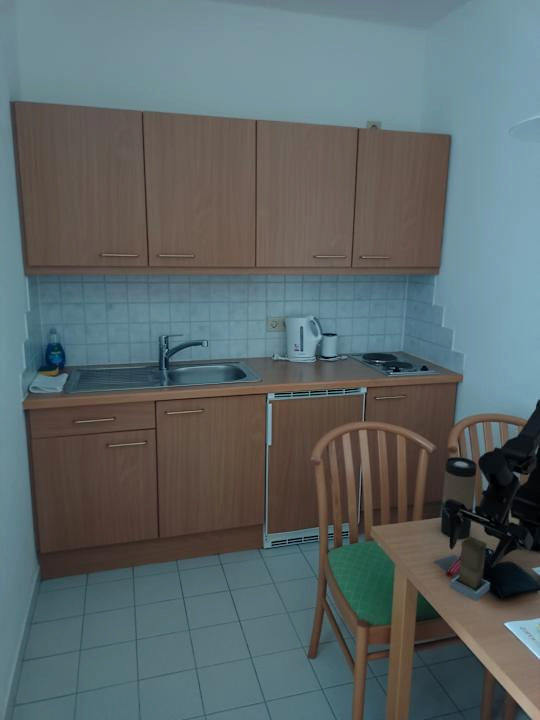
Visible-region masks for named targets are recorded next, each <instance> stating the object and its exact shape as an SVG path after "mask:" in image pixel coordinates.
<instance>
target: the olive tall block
mask: <svg viewBox="0 0 540 720" xmlns="http://www.w3.org/2000/svg"><path fill="white" fill-rule="evenodd" d="M486 549H487V542H485V541H483V540H480V539H477V538H475V537H473V536H470V535H469V538H466V539H463V541H461V553H460V559H461V561H460V572H459V583H461V584H463V585H465V586H467V587H469V588H471V589H473V590H474V591H475V592H476V591H477V590H478V589H480V588H481V587H482V580H483V578H484V570H485V560H486V559H485V558H486Z"/></svg>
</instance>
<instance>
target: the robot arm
mask: <svg viewBox="0 0 540 720" xmlns="http://www.w3.org/2000/svg"><path fill="white" fill-rule="evenodd" d="M477 465H478V467H479V469H480V471H481V473H482V475H483V476H484V478H485V479H486V481H487V483H488V485H487V487H486V490H485V489H484V490H482V493H481V495H482V498H481V500H480V503H479V505H475V506H474V508H473V511H474V512H470V511H468V510H467V508H466V507H465V505H464V504H463V503H460V502H457V501H455V500H452V499H449V500H447V501H445V503H444V505H443V507H442V506H441V509H442V508H443V509H444V510H445V512H446V514H447V515H448V517H449V518H450V537H449V549H450V550H454V548H455V547H456V544H457V542H458V540H459V539H458V537H459V535H460V532H461V530H462V529H463V528H464V527H465V525H464V523H463V522H466V521H467V519H468V520H470V521H471V522H473V523H475V524H477V525H480V526H483V531H484V533H485V534H486V535H487V536H489V537H493V538H496V539H498V540H499V541H498V544H497V545H496V548H495V550H494V553H493V555H492V557H491V560H490V564H489V567H490V569H491V568H492V569H493V568H494V567H495V566H496V565H498V564H499V563H500V562H501V561H502V560H503V559H504V558H505V557H506V556H507V555H509V554H511V552H515V551H517V550H519V551H523V550H524V549H525V550H527V551H530V550H533V551H537V552H540V398H539V399H538V400H537V402H536V405H535V409H534V411H533V412H532V413H531V415H530V417H529V418H528V419H527V421H526V422H525V424H524V425H523V427H522V429H521V430H520V432H519V433H518V434H517V436H515V437H512V438H509V439H508V440H506V442H505V443H504V444H503V445H502V446H501V447H500V448H499V447H496V446H495V447H494V449H493V450H491V451H487V452H485V453H483V454H482V455H481V456H480V457H479V459H478V464H477ZM516 474H520V475H523V476H528V478H527V480H526V481H525V482H524V483H522V484H521V481H520V479H519V476H517V475H516ZM510 517H511V518H513V519H516V520H518V523H516V522H513V521H511V522H510Z"/></svg>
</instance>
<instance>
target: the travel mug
mask: <svg viewBox="0 0 540 720" xmlns="http://www.w3.org/2000/svg"><path fill="white" fill-rule="evenodd" d="M477 465H478V464H477V462H475V461H474V460H472V459H469V458H466V457H459V456H458V457H457V456H454V457H448V458H447V459H446V461H445V471H444V482H443V491H442V500H441V501H442V502H441V503H442V504H441V524H440V525H441V526H440V531H441V533H442V534H443V536H446V537H448V538H450V518H449V517H448V515H447V514H446V512H445V510H444V509H443V508H442V507H443V505H444V503H445V501H447V500H449V499H452V500H455V501H457V502H460V503H463V504H464V505H465V507H466V508H467V510H468V511H470V512H473V511H474V503H475V501H474V500H475V491H476V489H475V488H476V479H477V478H476V477H477V468H478V466H477ZM473 513H474V512H473ZM463 523H464V525H465V527H464V528H463V529H462V530H461V532H460V535H459V537H458V540H466V539H467V538H469V537H470V534H471V526H472V521H470V520H468V519H467V521H466V522H463Z"/></svg>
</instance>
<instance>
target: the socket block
mask: <svg viewBox="0 0 540 720" xmlns="http://www.w3.org/2000/svg"><path fill="white" fill-rule="evenodd" d="M490 587H491V582H489V581H488V580H485V579H483V580H482V587H481V588H480V589H478V590H477V591H476V592H475V591H474V590H473V589H471V588H469V587H467V586H465V585H463V584H461V583H459V575H458V576H456V577H453V579H451V580H450V587H449V588H450V589H452V590H454V591H456V592H458V593H459V594H461V595H464V596H466V597H468V598H470V599H472V600H474V601H476V602H477V601H478V600H479V599H480V598H481V597H482V596H484V594H486V593H487V592H488V591H490Z"/></svg>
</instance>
